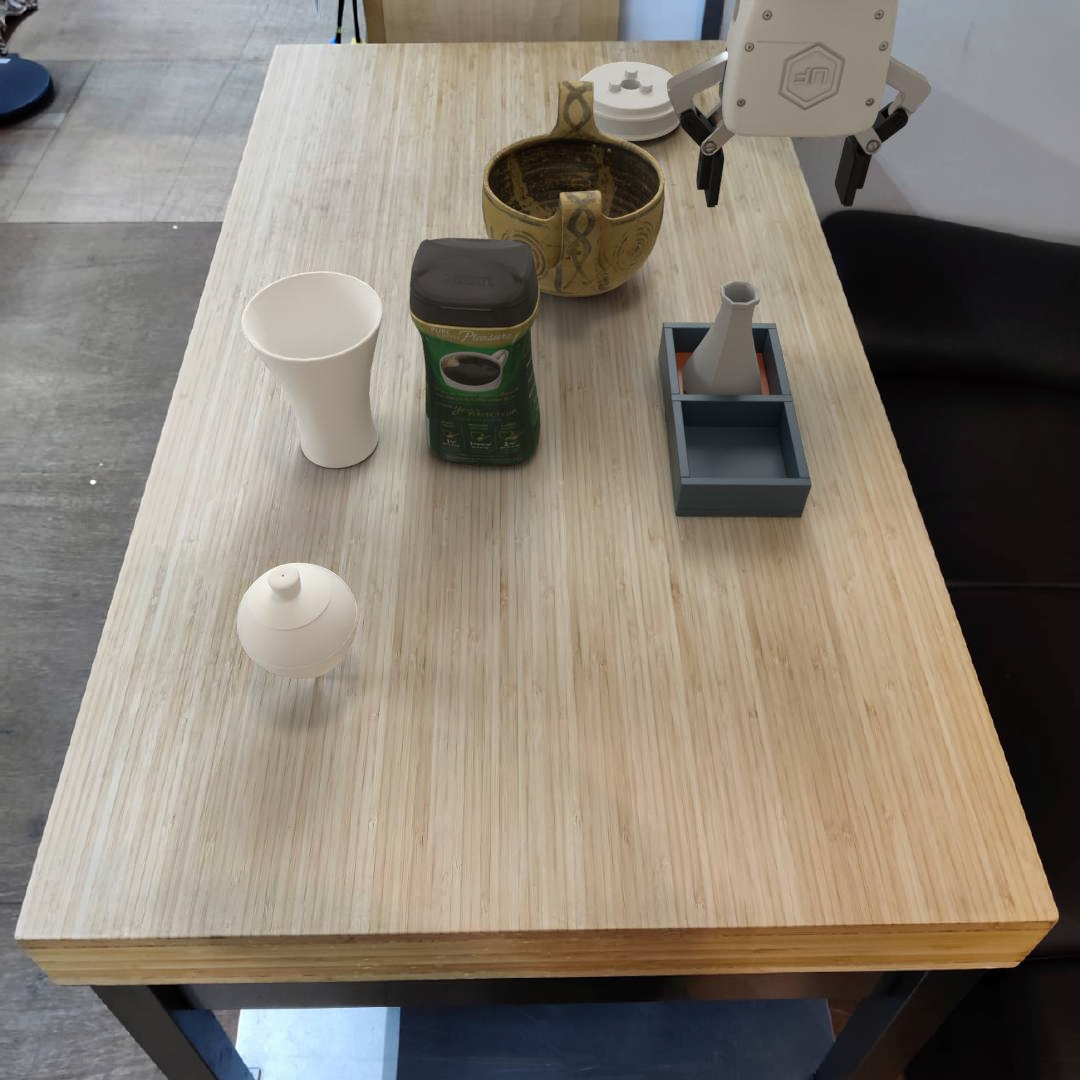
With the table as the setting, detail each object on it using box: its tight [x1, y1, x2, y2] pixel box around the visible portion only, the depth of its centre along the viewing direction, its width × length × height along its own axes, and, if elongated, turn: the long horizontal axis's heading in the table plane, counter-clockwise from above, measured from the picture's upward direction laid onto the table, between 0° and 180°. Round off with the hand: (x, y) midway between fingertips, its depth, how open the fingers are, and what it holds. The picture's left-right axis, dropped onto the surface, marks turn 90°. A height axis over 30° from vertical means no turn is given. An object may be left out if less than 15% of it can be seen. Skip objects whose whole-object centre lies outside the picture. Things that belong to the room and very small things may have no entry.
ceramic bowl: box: [481, 79, 666, 298], centre depth 92 cm, size 22×17×15 cm
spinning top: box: [236, 562, 359, 680], centre depth 65 cm, size 8×8×12 cm
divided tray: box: [658, 321, 812, 518], centre depth 83 cm, size 19×10×4 cm, turn 0°
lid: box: [578, 61, 681, 142], centre depth 115 cm, size 13×13×5 cm
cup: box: [240, 270, 384, 469], centre depth 78 cm, size 10×10×14 cm
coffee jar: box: [408, 237, 541, 467], centre depth 77 cm, size 10×8×19 cm
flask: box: [683, 280, 763, 395], centre depth 83 cm, size 7×7×10 cm
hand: (776, 196), depth 71 cm, fingers open, 9 cm apart
